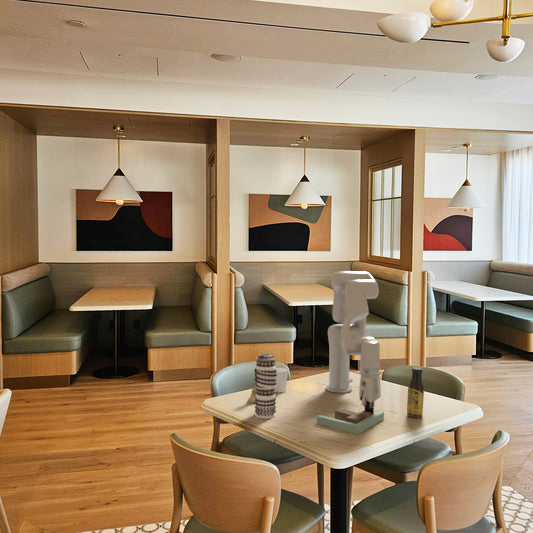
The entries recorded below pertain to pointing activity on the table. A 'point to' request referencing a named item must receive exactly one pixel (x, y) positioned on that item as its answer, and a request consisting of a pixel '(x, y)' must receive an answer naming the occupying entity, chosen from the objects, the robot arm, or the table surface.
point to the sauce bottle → (415, 394)
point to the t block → (351, 415)
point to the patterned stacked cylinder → (265, 386)
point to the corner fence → (349, 426)
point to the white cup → (281, 380)
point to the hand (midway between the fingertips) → (369, 417)
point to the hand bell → (253, 395)
